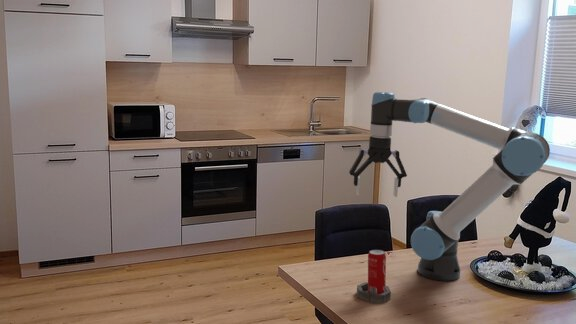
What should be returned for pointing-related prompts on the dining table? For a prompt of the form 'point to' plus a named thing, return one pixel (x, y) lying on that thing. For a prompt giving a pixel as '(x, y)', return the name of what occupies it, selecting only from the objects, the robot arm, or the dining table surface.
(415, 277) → the dining table surface
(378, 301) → the collar
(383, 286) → the beverage can
